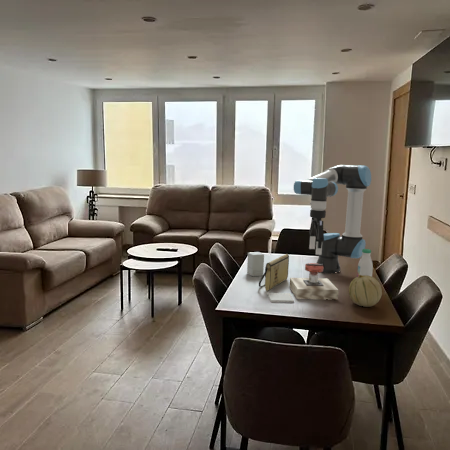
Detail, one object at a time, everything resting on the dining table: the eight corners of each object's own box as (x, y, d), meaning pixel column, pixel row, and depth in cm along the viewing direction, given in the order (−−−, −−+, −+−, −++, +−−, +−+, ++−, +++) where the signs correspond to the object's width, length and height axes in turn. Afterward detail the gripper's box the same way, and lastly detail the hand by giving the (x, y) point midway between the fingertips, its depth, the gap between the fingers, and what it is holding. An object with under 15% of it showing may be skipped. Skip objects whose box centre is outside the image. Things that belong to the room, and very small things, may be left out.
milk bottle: (373, 285, 237) (376, 249, 234) (367, 288, 231) (370, 251, 228) (360, 282, 242) (363, 247, 239) (353, 285, 236) (356, 249, 233)
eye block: (326, 287, 230) (327, 277, 229) (337, 299, 210) (338, 288, 209) (289, 286, 229) (290, 276, 228) (296, 298, 209) (297, 287, 208)
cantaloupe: (387, 310, 197) (390, 278, 195) (359, 312, 193) (362, 280, 191) (367, 299, 211) (370, 270, 209) (341, 301, 207) (343, 271, 205)
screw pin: (319, 290, 224) (321, 262, 222) (323, 296, 215) (325, 266, 213) (301, 290, 224) (303, 261, 221) (305, 295, 215) (307, 266, 212)
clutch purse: (277, 277, 247) (278, 251, 244) (288, 279, 243) (290, 253, 241) (255, 290, 221) (256, 261, 219) (267, 292, 218) (269, 263, 215)
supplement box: (263, 275, 249) (264, 254, 247) (252, 276, 246) (252, 255, 244) (258, 272, 256) (258, 251, 254) (246, 273, 253) (247, 252, 251)
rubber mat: (289, 295, 214) (289, 293, 214) (294, 302, 204) (294, 300, 203) (267, 294, 214) (267, 292, 214) (270, 302, 203) (270, 300, 203)
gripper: (305, 206, 225) (302, 246, 228) (316, 212, 200) (313, 256, 203) (319, 207, 225) (316, 246, 228) (332, 212, 201) (329, 257, 204)
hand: (315, 251), depth 216 cm, fingers open, 13 cm apart
